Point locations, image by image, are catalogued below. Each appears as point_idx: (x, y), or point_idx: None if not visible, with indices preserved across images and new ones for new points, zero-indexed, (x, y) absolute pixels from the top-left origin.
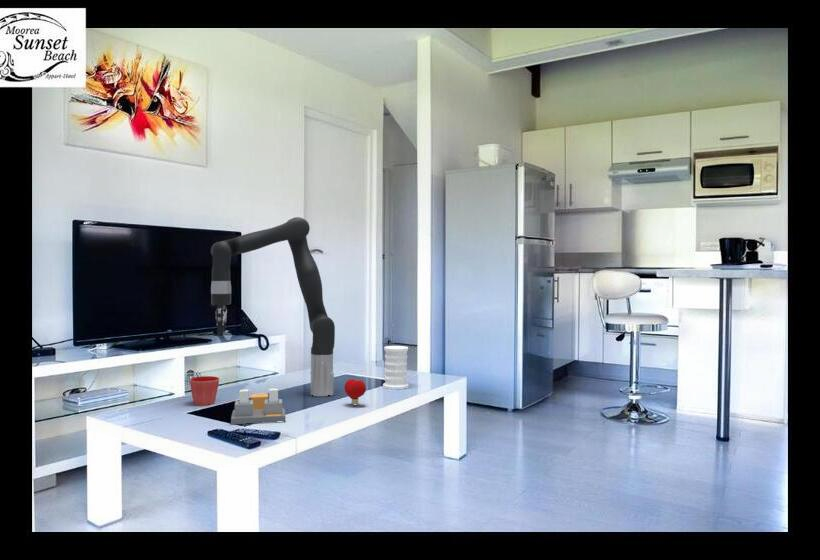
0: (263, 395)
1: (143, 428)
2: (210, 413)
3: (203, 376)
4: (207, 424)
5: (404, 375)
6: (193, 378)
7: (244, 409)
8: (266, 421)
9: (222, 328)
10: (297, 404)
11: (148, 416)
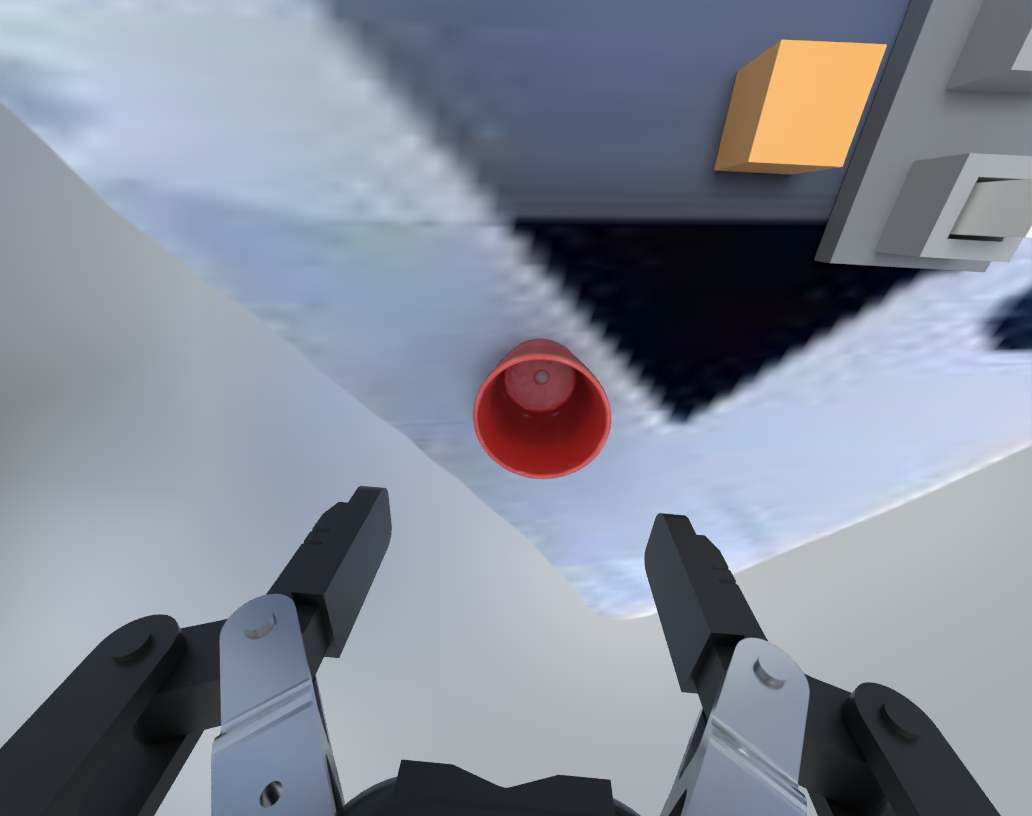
0: (829, 77)
1: (821, 519)
2: (724, 349)
3: (478, 428)
4: (893, 355)
5: None
6: (511, 465)
7: None
8: None
9: (717, 590)
10: None
11: None
